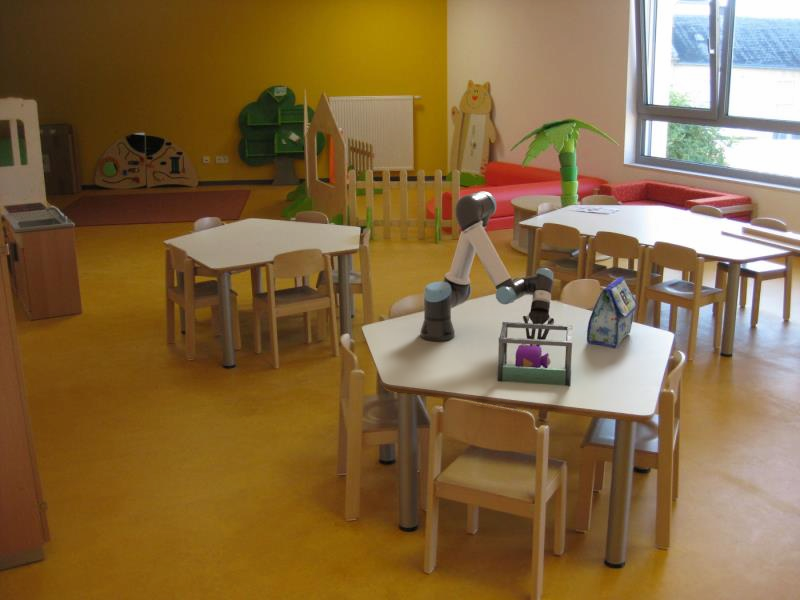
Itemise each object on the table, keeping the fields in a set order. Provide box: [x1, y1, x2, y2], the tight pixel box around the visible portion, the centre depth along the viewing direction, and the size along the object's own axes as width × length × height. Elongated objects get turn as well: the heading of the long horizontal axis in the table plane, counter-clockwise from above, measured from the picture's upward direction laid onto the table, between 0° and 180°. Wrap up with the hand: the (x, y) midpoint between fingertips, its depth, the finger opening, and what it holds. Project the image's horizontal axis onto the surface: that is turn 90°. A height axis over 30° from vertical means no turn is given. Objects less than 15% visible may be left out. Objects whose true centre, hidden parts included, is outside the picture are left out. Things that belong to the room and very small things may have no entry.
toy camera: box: [514, 344, 551, 368], centre depth 336 cm, size 11×14×10 cm
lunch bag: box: [586, 276, 638, 349], centre depth 368 cm, size 22×17×26 cm
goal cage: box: [496, 321, 573, 387], centre depth 332 cm, size 28×21×17 cm
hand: (533, 355), depth 343 cm, fingers closed
